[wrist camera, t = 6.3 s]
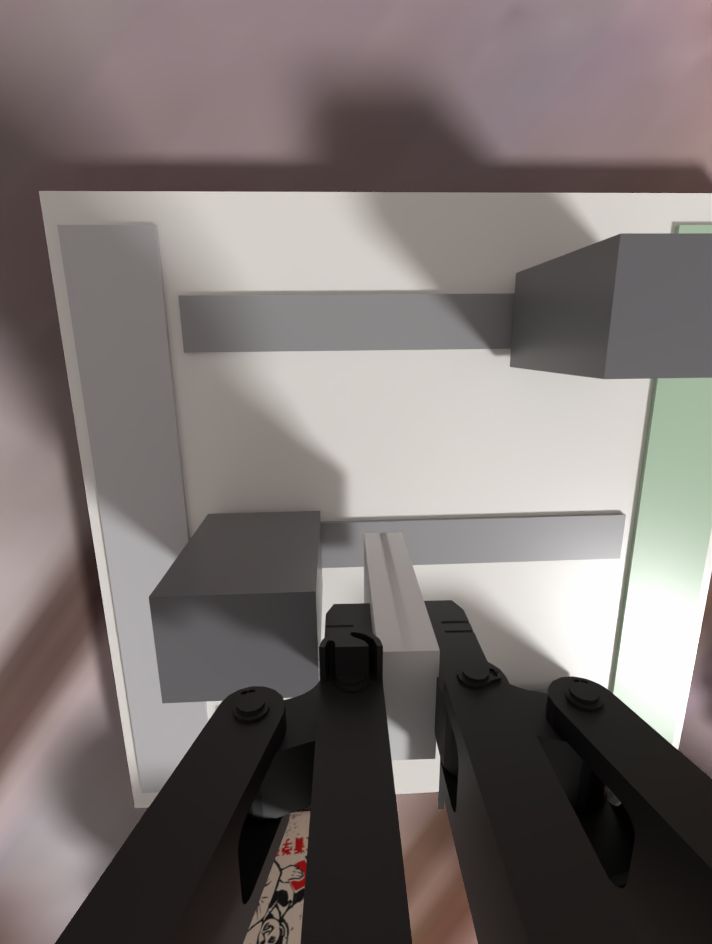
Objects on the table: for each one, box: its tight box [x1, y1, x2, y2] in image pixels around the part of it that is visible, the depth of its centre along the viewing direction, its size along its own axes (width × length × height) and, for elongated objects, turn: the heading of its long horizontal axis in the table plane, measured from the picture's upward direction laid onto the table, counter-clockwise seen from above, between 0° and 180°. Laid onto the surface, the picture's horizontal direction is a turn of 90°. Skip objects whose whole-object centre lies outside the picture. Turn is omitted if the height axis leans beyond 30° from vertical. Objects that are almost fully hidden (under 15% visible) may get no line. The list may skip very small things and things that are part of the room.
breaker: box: [510, 233, 712, 379], centre depth 14 cm, size 4×3×6 cm
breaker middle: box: [149, 511, 323, 703], centre depth 15 cm, size 4×3×6 cm
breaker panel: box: [39, 191, 712, 808], centre depth 20 cm, size 24×24×2 cm
